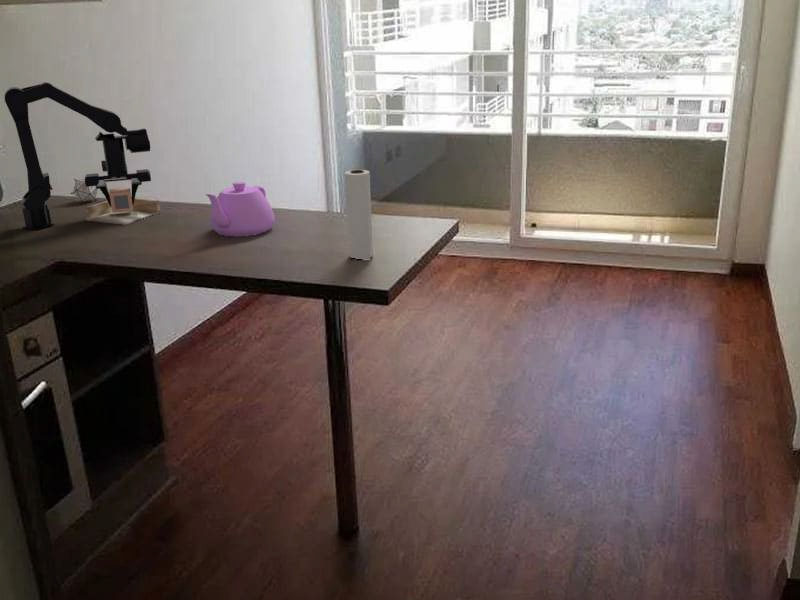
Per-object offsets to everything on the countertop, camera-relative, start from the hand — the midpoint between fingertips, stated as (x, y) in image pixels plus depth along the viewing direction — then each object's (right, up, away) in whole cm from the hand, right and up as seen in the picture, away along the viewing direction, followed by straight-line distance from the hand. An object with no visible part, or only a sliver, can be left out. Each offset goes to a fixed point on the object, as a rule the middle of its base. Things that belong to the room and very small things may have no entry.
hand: (122, 205), depth 243 cm
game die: (-19, +4, +22) cm, 29 cm away
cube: (0, -1, 0) cm, 1 cm away
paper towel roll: (+75, -18, -46) cm, 90 cm away
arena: (+1, -4, 0) cm, 4 cm away
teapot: (+40, -10, -19) cm, 45 cm away
